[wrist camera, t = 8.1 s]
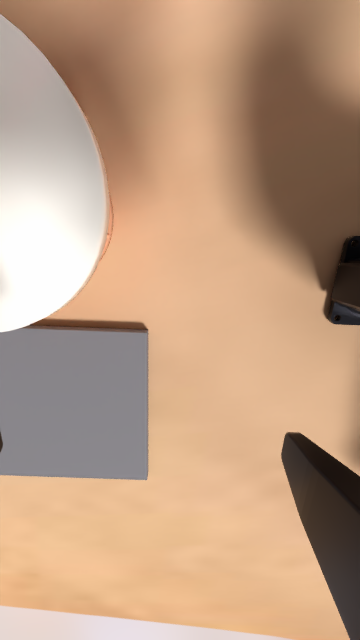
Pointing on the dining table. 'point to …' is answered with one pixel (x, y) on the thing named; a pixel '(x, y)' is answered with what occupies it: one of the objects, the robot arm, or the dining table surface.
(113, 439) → the mat
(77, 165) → the lid
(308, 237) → the dining table surface
